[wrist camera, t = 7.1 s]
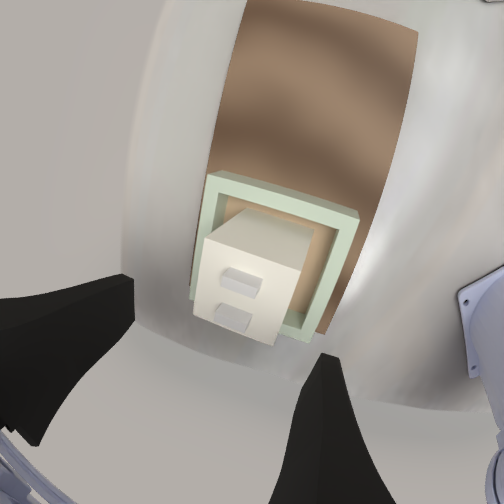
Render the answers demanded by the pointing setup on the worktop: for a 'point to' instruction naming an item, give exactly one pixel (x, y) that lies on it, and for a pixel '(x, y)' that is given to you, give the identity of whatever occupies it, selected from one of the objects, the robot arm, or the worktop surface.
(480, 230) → the worktop surface
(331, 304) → the board
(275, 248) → the plug
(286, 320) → the holder
